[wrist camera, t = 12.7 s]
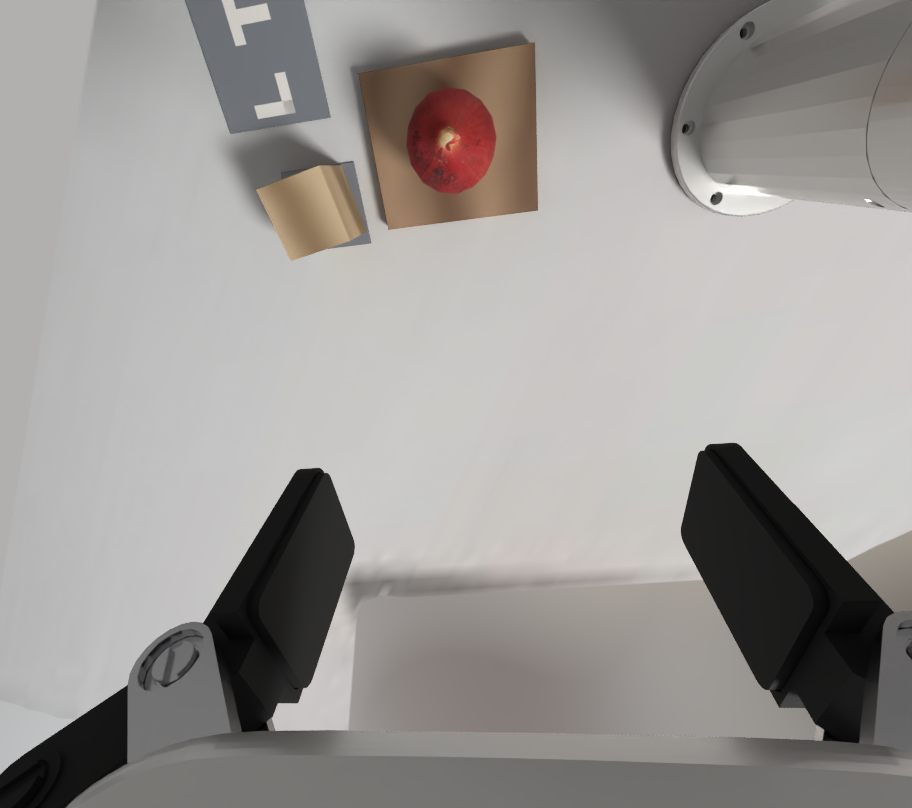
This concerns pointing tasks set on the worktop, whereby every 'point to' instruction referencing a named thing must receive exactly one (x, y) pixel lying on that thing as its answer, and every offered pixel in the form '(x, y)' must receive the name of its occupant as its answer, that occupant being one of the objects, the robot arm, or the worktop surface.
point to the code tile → (261, 61)
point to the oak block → (313, 210)
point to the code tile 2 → (354, 186)
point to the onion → (451, 140)
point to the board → (514, 116)
